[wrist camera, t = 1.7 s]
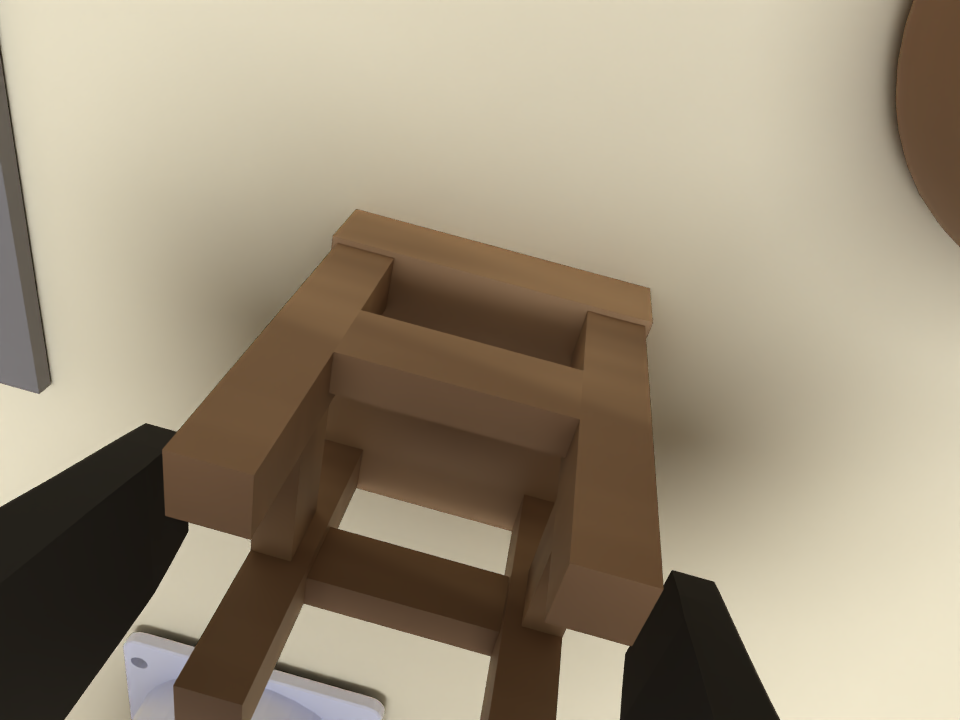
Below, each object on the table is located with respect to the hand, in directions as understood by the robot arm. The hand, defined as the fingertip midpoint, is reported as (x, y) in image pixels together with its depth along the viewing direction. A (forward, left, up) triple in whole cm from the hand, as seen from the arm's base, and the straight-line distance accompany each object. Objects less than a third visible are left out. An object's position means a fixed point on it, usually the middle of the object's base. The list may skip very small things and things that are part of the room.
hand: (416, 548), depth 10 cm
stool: (0, 0, -5) cm, 5 cm away
